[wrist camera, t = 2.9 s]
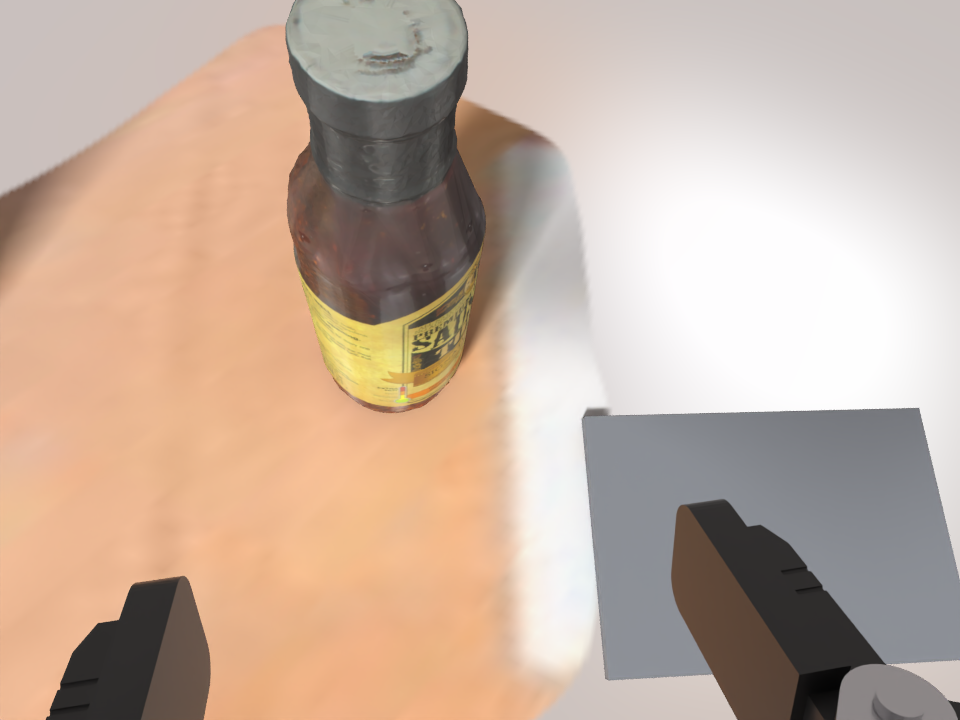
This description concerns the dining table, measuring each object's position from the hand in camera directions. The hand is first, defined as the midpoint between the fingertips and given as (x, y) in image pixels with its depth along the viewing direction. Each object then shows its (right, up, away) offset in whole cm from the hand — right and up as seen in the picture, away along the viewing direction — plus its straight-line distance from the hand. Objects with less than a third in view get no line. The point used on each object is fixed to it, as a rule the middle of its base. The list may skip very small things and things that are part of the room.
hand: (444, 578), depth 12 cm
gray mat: (+14, -4, +21) cm, 25 cm away
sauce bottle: (-3, +4, +23) cm, 23 cm away
